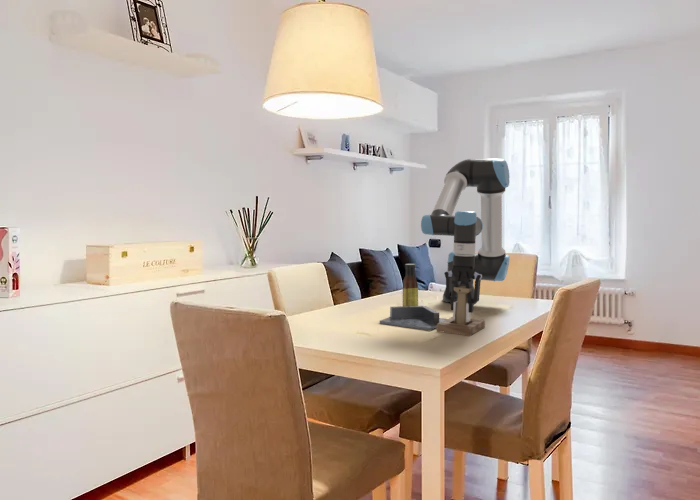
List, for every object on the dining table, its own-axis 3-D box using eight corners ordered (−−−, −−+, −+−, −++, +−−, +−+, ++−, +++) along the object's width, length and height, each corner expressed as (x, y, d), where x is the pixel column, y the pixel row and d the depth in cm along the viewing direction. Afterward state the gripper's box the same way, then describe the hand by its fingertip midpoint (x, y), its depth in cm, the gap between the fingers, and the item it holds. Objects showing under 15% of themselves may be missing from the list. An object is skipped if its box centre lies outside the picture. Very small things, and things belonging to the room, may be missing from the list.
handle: (466, 331, 199) (468, 289, 198) (449, 328, 203) (451, 287, 202) (472, 329, 203) (474, 287, 202) (456, 326, 207) (457, 285, 206)
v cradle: (401, 315, 225) (401, 302, 225) (449, 321, 215) (449, 308, 214) (379, 323, 210) (380, 310, 209) (430, 330, 199) (430, 316, 199)
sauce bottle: (420, 313, 230) (422, 264, 229) (413, 315, 225) (415, 265, 223) (406, 311, 234) (407, 262, 232) (398, 313, 229) (400, 264, 227)
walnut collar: (453, 322, 213) (453, 316, 213) (484, 327, 207) (485, 320, 207) (436, 331, 199) (437, 324, 199) (470, 335, 193) (470, 328, 193)
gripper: (437, 254, 202) (435, 319, 204) (484, 257, 193) (481, 325, 195) (445, 252, 208) (442, 315, 210) (491, 255, 200) (488, 321, 202)
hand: (461, 320), depth 203 cm, fingers closed on handle, 4 cm apart
